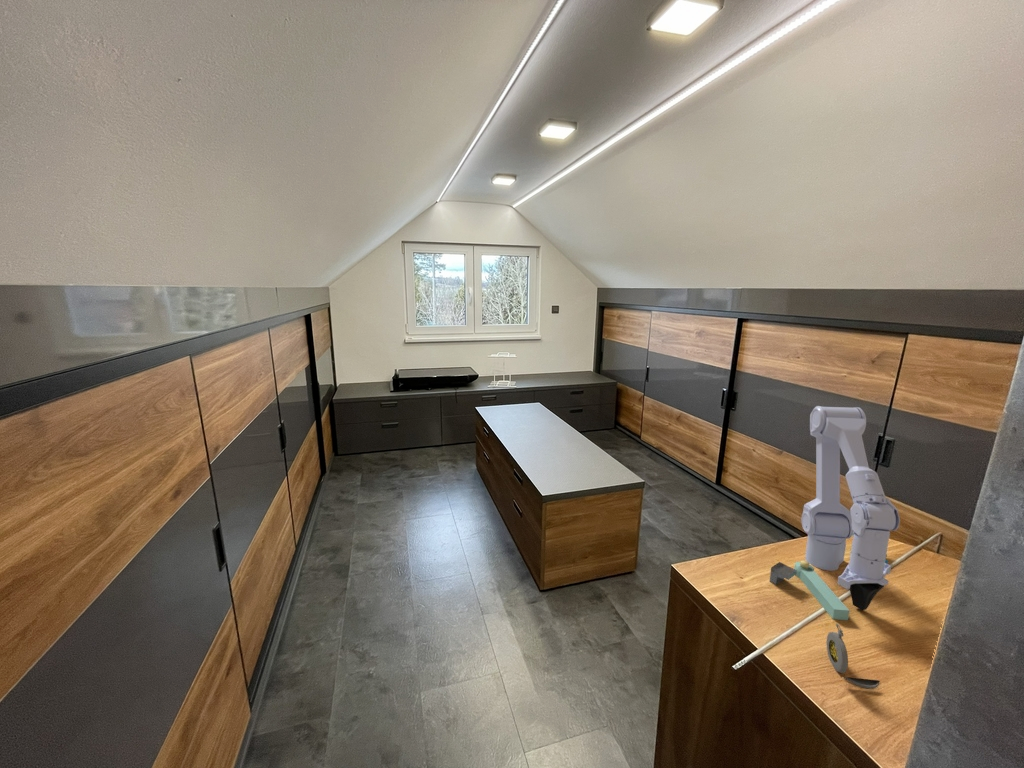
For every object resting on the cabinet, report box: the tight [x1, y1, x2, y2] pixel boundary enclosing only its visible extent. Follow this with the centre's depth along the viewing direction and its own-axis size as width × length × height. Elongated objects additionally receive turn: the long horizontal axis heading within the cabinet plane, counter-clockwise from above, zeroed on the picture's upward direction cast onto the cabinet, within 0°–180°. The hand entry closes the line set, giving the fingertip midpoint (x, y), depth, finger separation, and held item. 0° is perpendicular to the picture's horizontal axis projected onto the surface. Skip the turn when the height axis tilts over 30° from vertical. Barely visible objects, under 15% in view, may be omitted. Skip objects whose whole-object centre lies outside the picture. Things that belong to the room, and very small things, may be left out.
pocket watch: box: [826, 622, 881, 690], centre depth 77 cm, size 8×8×10 cm
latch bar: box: [793, 559, 850, 621], centre depth 97 cm, size 17×4×4 cm, turn 171°
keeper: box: [769, 561, 797, 586], centre depth 101 cm, size 4×4×5 cm
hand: (859, 606), depth 92 cm, fingers closed
